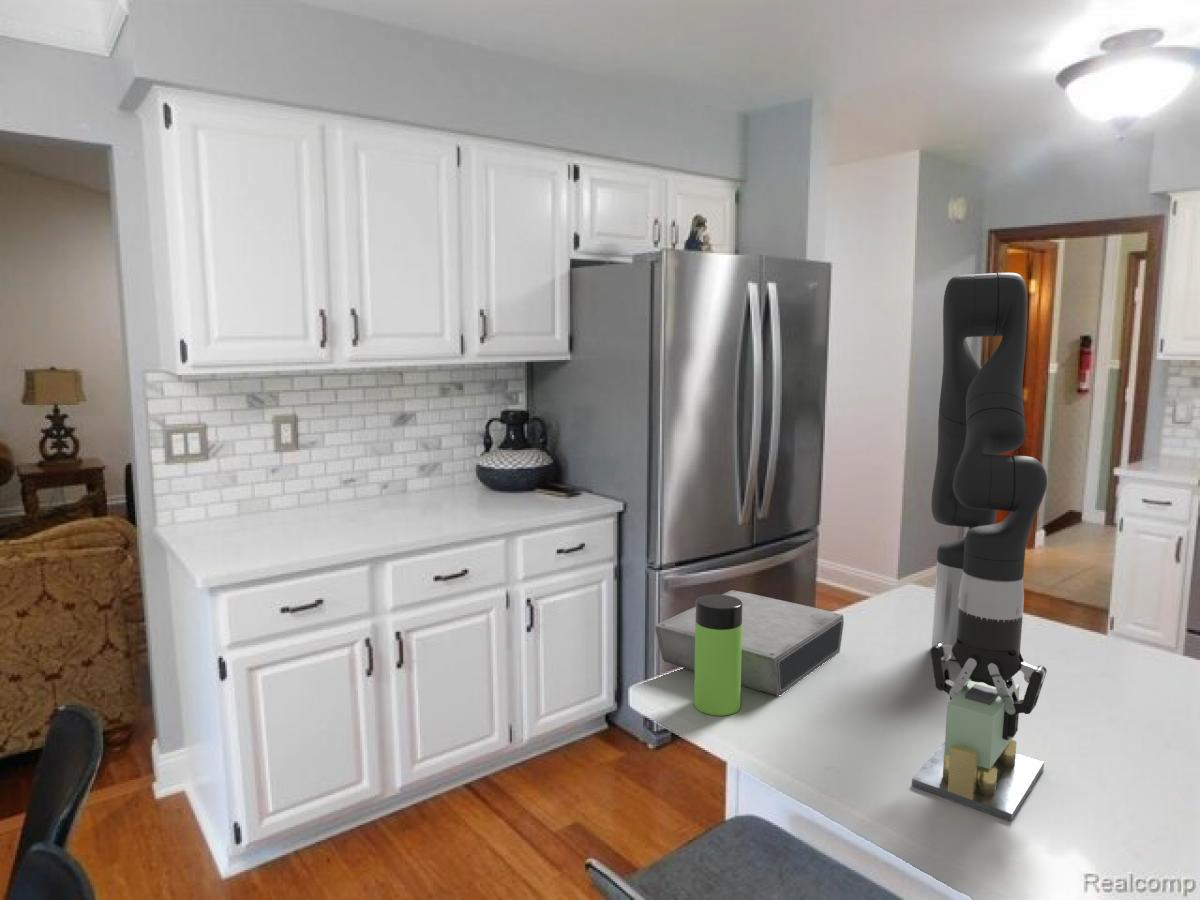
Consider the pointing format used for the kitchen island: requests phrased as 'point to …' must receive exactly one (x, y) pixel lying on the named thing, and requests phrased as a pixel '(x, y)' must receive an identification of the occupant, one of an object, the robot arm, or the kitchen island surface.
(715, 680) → the tumbler
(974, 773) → the metal plate
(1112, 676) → the kitchen island surface
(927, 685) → the kitchen island surface
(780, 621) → the speaker
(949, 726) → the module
